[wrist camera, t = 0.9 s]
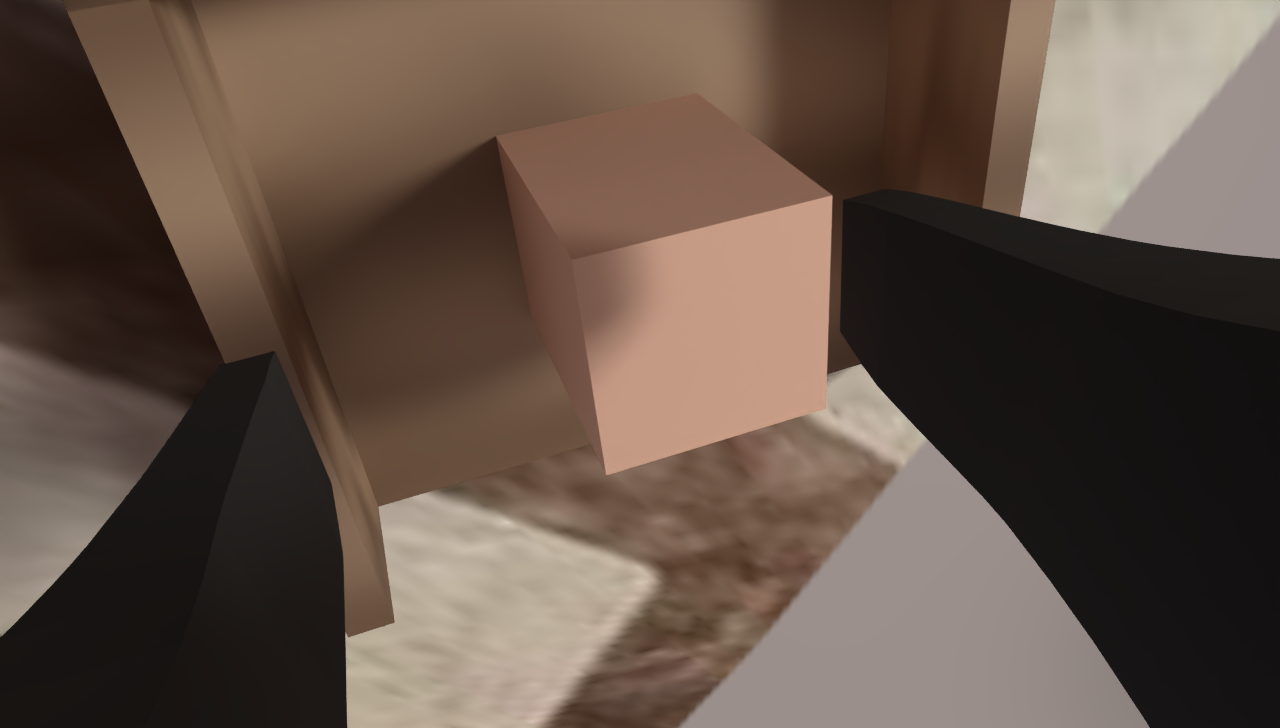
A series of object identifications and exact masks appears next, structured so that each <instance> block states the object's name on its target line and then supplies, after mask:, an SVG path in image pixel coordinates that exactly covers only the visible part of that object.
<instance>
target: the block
mask: <svg viewBox="0 0 1280 728" xmlns="http://www.w3.org/2000/svg"><path fill="white" fill-rule="evenodd" d="M496 139H497V145H498V150H499V155H500V160H501V165H502V170H503V175H504V180H505V185H506V190H507V195H508V200H509V205H510V210H511V215H512V220H513V226H514V231H515V236H516V241H517V246H518V251H519V256H520V261H521V266H522V271H523V276H524V281H525V286H526V291H527V296H528V301H529V306H530V312H531V317H532V320H533V322H534V324H535V326H536V328H537V330H538V332H539V334H540V336H541V339H542V341H543V343H544V345H545V347H546V349H547V351H548V353H549V356H550V358H551V360H552V362H553V364H554V366H555V368H556V370H557V372H558V375H559V377H560V379H561V381H562V383H563V385H564V387H565V389H566V391H567V394H568V396H569V398H570V400H571V402H572V404H573V406H574V408H575V410H576V413H577V415H578V417H579V419H580V421H581V423H582V425H583V427H584V429H585V432H586V434H587V436H588V438H589V440H590V442H591V444H592V446H593V448H594V451H595V453H596V455H597V457H598V459H599V461H600V463H601V465H602V467H603V470H604V472H605V474H606V475H609V474H612V473H616V472H619V471H622V470H625V469H629V468H632V467H635V466H639V465H642V464H645V463H648V462H652V461H655V460H658V459H662V458H665V457H668V456H671V455H675V454H678V453H681V452H685V451H688V450H691V449H694V448H698V447H701V446H704V445H708V444H711V443H714V442H717V441H721V440H724V439H727V438H731V437H734V436H737V435H740V434H744V433H747V432H750V431H754V430H757V429H760V428H763V427H767V426H770V425H773V424H777V423H780V422H783V421H786V420H790V419H793V418H796V417H799V416H803V415H806V414H809V413H813V412H816V411H819V410H822V409H826V390H827V358H828V325H829V293H830V261H831V228H832V196H833V195H831V194H830V193H829V192H827V191H826V190H825V189H823V188H822V187H821V186H819V185H818V184H817V183H815V182H814V181H813V180H811V179H810V178H809V177H807V176H806V175H805V174H803V173H802V172H801V171H799V170H798V169H797V168H796V167H794V166H793V165H792V164H790V163H789V162H788V161H786V160H785V159H784V158H782V157H781V156H780V155H778V154H777V153H776V152H774V151H773V150H772V149H770V148H769V147H768V146H766V145H765V144H764V143H762V142H761V141H760V140H758V139H757V138H756V137H754V136H753V135H752V134H750V133H749V132H748V131H746V130H745V129H744V128H742V127H741V126H740V125H738V124H737V123H736V122H734V121H733V120H732V119H731V118H729V117H728V116H727V115H725V114H724V113H723V112H721V111H720V110H719V109H717V108H716V107H715V106H713V105H712V104H711V103H709V102H708V101H707V100H705V99H704V98H703V97H701V96H700V95H699V94H697V93H695V94H690V95H685V96H681V97H676V98H671V99H666V100H662V101H657V102H652V103H648V104H643V105H638V106H634V107H629V108H624V109H620V110H615V111H610V112H605V113H601V114H596V115H591V116H587V117H582V118H577V119H573V120H568V121H563V122H559V123H554V124H549V125H545V126H540V127H535V128H530V129H526V130H521V131H516V132H512V133H507V134H502V135H498V136H496Z"/></svg>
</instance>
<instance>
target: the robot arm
mask: <svg viewBox="0 0 1280 728" xmlns="http://www.w3.org/2000/svg"><path fill="white" fill-rule="evenodd" d="M840 332H841V334H842V335H843V337H844V338H845V340H846V341H847V343H848V344H849V346H850V347H851V349H852V350H853V352H854V353H855V355H856V356H857V358H858V359H859V361H860V362H861V364H862V365H863V367H864V368H865V369H866V371H867V372H868V373H869V375H870V376H871V378H872V379H873V380H874V382H875V383H876V384H877V386H878V387H879V388H880V389H881V390H882V391H883V392H884V394H885V395H886V396H887V397H888V398H889V399H890V400H891V401H892V402H893V403H894V404H895V405H896V407H897V408H898V409H899V410H900V411H901V412H902V413H903V414H904V415H905V416H906V417H907V418H908V419H909V420H910V421H911V423H912V424H913V425H914V426H915V427H916V428H917V429H918V430H919V431H920V432H921V433H922V434H923V435H924V436H925V437H926V438H927V439H928V440H929V441H930V442H931V443H932V444H933V445H934V446H935V448H936V449H937V450H938V451H940V453H941V454H942V455H943V456H944V457H945V458H946V459H947V460H948V461H949V462H950V463H951V464H952V465H953V466H954V467H955V468H956V469H957V470H958V471H959V472H960V474H961V475H963V477H964V478H965V479H967V481H968V482H969V483H970V484H971V485H972V486H973V487H974V488H975V489H976V490H977V491H978V492H979V493H980V494H981V495H982V496H983V497H984V499H985V500H986V501H987V502H988V503H989V504H990V505H991V507H992V508H993V509H994V510H995V511H996V512H997V513H998V515H1000V517H1001V518H1002V519H1003V520H1004V521H1005V523H1006V524H1007V525H1008V526H1009V528H1010V529H1011V530H1012V532H1013V533H1014V534H1015V536H1016V537H1017V538H1018V539H1019V541H1020V542H1021V543H1022V545H1023V546H1024V547H1025V548H1026V550H1027V551H1028V552H1029V554H1030V555H1031V556H1032V558H1033V559H1034V560H1035V561H1036V563H1037V564H1038V566H1039V567H1040V568H1041V570H1042V571H1043V572H1044V573H1045V575H1046V576H1047V577H1048V578H1049V580H1050V581H1051V583H1052V584H1053V586H1054V587H1055V588H1056V590H1057V591H1058V592H1059V594H1060V595H1061V597H1062V598H1063V600H1064V601H1065V602H1066V604H1067V605H1068V607H1069V608H1070V609H1071V611H1072V612H1073V614H1074V615H1075V616H1076V618H1077V619H1078V621H1079V622H1080V623H1081V625H1082V626H1083V628H1084V629H1085V630H1086V632H1087V633H1088V635H1089V636H1090V637H1091V639H1092V640H1093V642H1094V643H1095V645H1096V646H1097V648H1098V649H1099V651H1100V652H1101V654H1102V655H1103V656H1104V658H1105V660H1106V661H1107V663H1108V664H1109V666H1110V667H1111V669H1112V670H1113V672H1114V673H1115V675H1116V676H1117V678H1118V679H1119V681H1120V683H1121V684H1122V686H1123V687H1124V689H1125V690H1126V692H1127V693H1128V695H1129V696H1130V698H1131V699H1132V701H1133V702H1134V704H1135V705H1136V707H1137V708H1138V710H1139V711H1140V713H1141V714H1142V716H1143V717H1144V719H1145V720H1146V722H1147V724H1148V725H1149V727H1150V728H1280V259H1274V258H1262V257H1251V256H1240V255H1231V254H1223V253H1215V252H1207V251H1199V250H1191V249H1184V248H1176V247H1167V246H1162V245H1155V244H1149V243H1143V242H1137V241H1131V240H1126V239H1121V238H1116V237H1110V236H1105V235H1100V234H1095V233H1090V232H1085V231H1080V230H1075V229H1071V228H1066V227H1062V226H1057V225H1053V224H1048V223H1044V222H1039V221H1035V220H1031V219H1027V218H1022V217H1018V216H1014V215H1010V214H1006V213H1002V212H997V211H993V210H989V209H985V208H981V207H977V206H972V205H968V204H964V203H960V202H956V201H952V200H947V199H943V198H938V197H933V196H929V195H924V194H919V193H913V192H907V191H901V190H892V189H882V190H878V191H875V192H871V193H867V194H863V195H860V196H856V197H852V198H848V199H845V200H843V220H842V262H841V305H840ZM0 728H347V702H346V648H345V598H344V561H343V550H342V543H341V537H340V530H339V524H338V518H337V512H336V506H335V500H334V494H333V488H332V483H331V481H330V478H329V476H328V474H327V471H326V469H325V467H324V464H323V462H322V460H321V457H320V455H319V453H318V450H317V448H316V445H315V443H314V441H313V438H312V436H311V434H310V431H309V429H308V427H307V424H306V422H305V420H304V417H303V415H302V413H301V410H300V408H299V406H298V403H297V401H296V399H295V396H294V394H293V392H292V389H291V387H290V385H289V382H288V380H287V377H286V375H285V373H284V370H283V368H282V366H281V363H280V361H279V359H278V356H277V354H276V352H275V351H272V352H268V353H265V354H261V355H257V356H253V357H250V358H246V359H242V360H238V361H235V362H231V363H227V364H223V365H220V366H219V367H218V368H217V370H216V371H215V372H214V374H213V375H212V376H211V378H210V379H209V381H208V382H207V383H206V385H205V386H204V388H203V389H202V391H201V392H200V394H199V395H198V397H197V398H196V400H195V401H194V403H193V404H192V406H191V407H190V409H189V410H188V412H187V413H186V415H185V416H184V418H183V419H182V420H181V422H180V423H179V425H178V426H177V428H176V429H175V431H174V432H173V433H172V435H171V436H170V438H169V439H168V441H167V442H166V443H165V445H164V446H163V448H162V449H161V451H160V452H159V453H158V455H157V456H156V458H155V459H154V460H153V462H152V463H151V465H150V466H149V468H148V469H147V470H146V472H145V473H144V474H143V476H142V477H141V479H140V480H139V481H138V482H137V484H136V485H135V486H134V487H133V489H132V490H131V491H130V492H129V494H128V495H127V496H126V497H125V499H124V500H123V501H122V503H121V504H120V505H119V506H118V508H117V509H116V510H115V511H114V513H113V514H112V515H111V516H110V518H109V519H108V520H107V521H106V523H105V524H104V525H103V526H102V528H101V529H100V530H99V532H98V533H97V534H96V535H95V537H94V538H93V539H92V540H91V542H90V543H89V544H88V545H87V546H86V548H85V549H84V550H83V551H82V552H81V553H80V555H79V556H78V557H77V558H76V559H75V560H74V561H73V563H72V564H71V565H70V566H69V567H68V568H67V569H66V570H65V571H64V573H63V574H62V575H61V576H60V577H59V578H58V579H57V580H56V581H55V582H54V584H53V585H52V586H51V587H50V588H49V589H48V590H47V591H46V592H45V593H44V594H43V595H42V596H41V597H40V598H39V599H38V600H37V601H36V602H35V603H34V604H33V605H32V606H31V607H30V608H29V610H28V611H27V612H26V613H25V614H24V615H23V616H22V617H21V618H20V619H19V620H18V621H17V622H16V623H15V624H14V625H13V626H12V627H11V628H10V629H9V630H8V631H7V632H6V633H5V634H4V635H3V636H2V637H1V638H0Z"/></svg>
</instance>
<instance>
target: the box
mask: <svg viewBox="0 0 1280 728" xmlns="http://www.w3.org/2000/svg"><path fill="white" fill-rule="evenodd" d="M62 1H63V3H64V6H65V8H66V10H67V12H68V15H69V17H70V19H71V21H72V23H73V26H74V28H75V30H76V32H77V35H78V37H79V39H80V41H81V43H82V46H83V48H84V50H85V52H86V55H87V57H88V59H89V61H90V63H91V66H92V68H93V70H94V72H95V75H96V77H97V79H98V81H99V84H100V86H101V88H102V90H103V92H104V95H105V97H106V99H107V101H108V104H109V106H110V108H111V110H112V112H113V115H114V117H115V119H116V121H117V124H118V126H119V128H120V130H121V132H122V135H123V137H124V139H125V141H126V144H127V146H128V148H129V150H130V153H131V155H132V157H133V159H134V161H135V164H136V166H137V168H138V170H139V173H140V175H141V177H142V179H143V181H144V184H145V186H146V188H147V190H148V193H149V195H150V197H151V199H152V201H153V204H154V206H155V208H156V210H157V213H158V215H159V217H160V219H161V222H162V224H163V226H164V228H165V230H166V233H167V235H168V237H169V239H170V242H171V244H172V246H173V248H174V250H175V253H176V255H177V257H178V259H179V262H180V264H181V266H182V268H183V270H184V273H185V275H186V277H187V279H188V282H189V284H190V286H191V288H192V291H193V293H194V295H195V297H196V299H197V302H198V304H199V306H200V308H201V311H202V313H203V315H204V317H205V319H206V322H207V324H208V326H209V328H210V331H211V333H212V335H213V337H214V339H215V342H216V344H217V346H218V348H219V351H220V353H221V355H222V357H223V360H224V362H225V364H227V363H231V362H235V361H238V360H242V359H246V358H250V357H253V356H257V355H261V354H265V353H268V352H272V351H275V352H276V354H277V356H278V359H279V361H280V363H281V366H282V368H283V370H284V373H285V375H286V377H287V380H288V382H289V385H290V387H291V389H292V392H293V394H294V396H295V399H296V401H297V403H298V406H299V408H300V410H301V413H302V415H303V417H304V420H305V422H306V424H307V427H308V429H309V431H310V434H311V436H312V438H313V441H314V443H315V445H316V448H317V450H318V453H319V455H320V457H321V460H322V462H323V464H324V467H325V469H326V471H327V474H328V476H329V478H330V481H331V483H332V488H333V494H334V500H335V506H336V512H337V518H338V524H339V530H340V537H341V543H342V550H343V561H344V598H345V631H346V633H347V636H348V637H351V636H354V635H357V634H360V633H363V632H366V631H369V630H373V629H376V628H379V627H382V626H385V625H388V624H391V623H394V615H393V608H392V601H391V594H390V586H389V579H388V572H387V565H386V558H385V551H384V544H383V537H382V530H381V523H380V516H379V509H378V507H379V506H382V505H385V504H389V503H392V502H395V501H399V500H402V499H406V498H409V497H412V496H416V495H419V494H423V493H426V492H429V491H433V490H436V489H439V488H443V487H446V486H450V485H453V484H456V483H460V482H463V481H467V480H470V479H473V478H477V477H480V476H483V475H487V474H490V473H494V472H497V471H500V470H504V469H507V468H511V467H514V466H517V465H521V464H524V463H527V462H531V461H534V460H538V459H541V458H544V457H548V456H551V455H554V454H558V453H561V452H565V451H568V450H571V449H575V448H578V447H582V446H585V445H588V444H591V442H590V440H589V438H588V436H587V434H586V432H585V429H584V427H583V425H582V423H581V421H580V419H579V417H578V415H577V413H576V410H575V408H574V406H573V404H572V402H571V400H570V398H569V396H568V394H567V391H566V389H565V387H564V385H563V383H562V381H561V379H560V377H559V375H558V372H557V370H556V368H555V366H554V364H553V362H552V360H551V358H550V356H549V353H548V351H547V349H546V347H545V345H544V343H543V341H542V339H541V336H540V334H539V332H538V330H537V328H536V326H535V324H534V322H533V320H532V317H531V312H530V306H529V301H528V296H527V291H526V286H525V281H524V276H523V271H522V266H521V261H520V256H519V251H518V246H517V241H516V236H515V231H514V226H513V220H512V215H511V210H510V205H509V200H508V195H507V190H506V185H505V180H504V175H503V170H502V165H501V160H500V155H499V150H498V145H497V139H496V136H498V135H502V134H507V133H512V132H516V131H521V130H526V129H530V128H535V127H540V126H545V125H549V124H554V123H559V122H563V121H568V120H573V119H577V118H582V117H587V116H591V115H596V114H601V113H605V112H610V111H615V110H620V109H624V108H629V107H634V106H638V105H643V104H648V103H652V102H657V101H662V100H666V99H671V98H676V97H681V96H685V95H690V94H695V93H697V94H699V95H700V96H701V97H703V98H704V99H705V100H707V101H708V102H709V103H711V104H712V105H713V106H715V107H716V108H717V109H719V110H720V111H721V112H723V113H724V114H725V115H727V116H728V117H729V118H731V119H732V120H733V121H734V122H736V123H737V124H738V125H740V126H741V127H742V128H744V129H745V130H746V131H748V132H749V133H750V134H752V135H753V136H754V137H756V138H757V139H758V140H760V141H761V142H762V143H764V144H765V145H766V146H768V147H769V148H770V149H772V150H773V151H774V152H776V153H777V154H778V155H780V156H781V157H782V158H784V159H785V160H786V161H788V162H789V163H790V164H792V165H793V166H794V167H796V168H797V169H798V170H799V171H801V172H802V173H803V174H805V175H806V176H807V177H809V178H810V179H811V180H813V181H814V182H815V183H817V184H818V185H819V186H821V187H822V188H823V189H825V190H826V191H827V192H829V193H830V194H831V195H833V196H832V228H831V261H830V293H829V325H828V358H827V374H829V373H832V372H835V371H839V370H842V369H846V368H849V367H852V366H856V365H859V364H861V362H860V361H859V359H858V358H857V356H856V355H855V353H854V352H853V350H852V349H851V347H850V346H849V344H848V343H847V341H846V340H845V338H844V337H843V335H842V334H841V332H840V305H841V262H842V220H843V200H845V199H848V198H852V197H856V196H860V195H863V194H867V193H871V192H875V191H878V190H882V189H892V190H901V191H907V192H913V193H919V194H924V195H929V196H933V197H938V198H943V199H947V200H952V201H956V202H960V203H964V204H968V205H972V206H977V207H981V208H985V209H989V210H993V211H997V212H1002V213H1006V214H1010V215H1014V216H1018V217H1020V212H1021V206H1022V200H1023V194H1024V188H1025V182H1026V176H1027V169H1028V163H1029V157H1030V151H1031V145H1032V139H1033V133H1034V127H1035V121H1036V115H1037V109H1038V103H1039V97H1040V91H1041V85H1042V79H1043V73H1044V67H1045V60H1046V54H1047V48H1048V42H1049V36H1050V30H1051V24H1052V18H1053V12H1054V6H1055V0H62Z"/></svg>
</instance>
